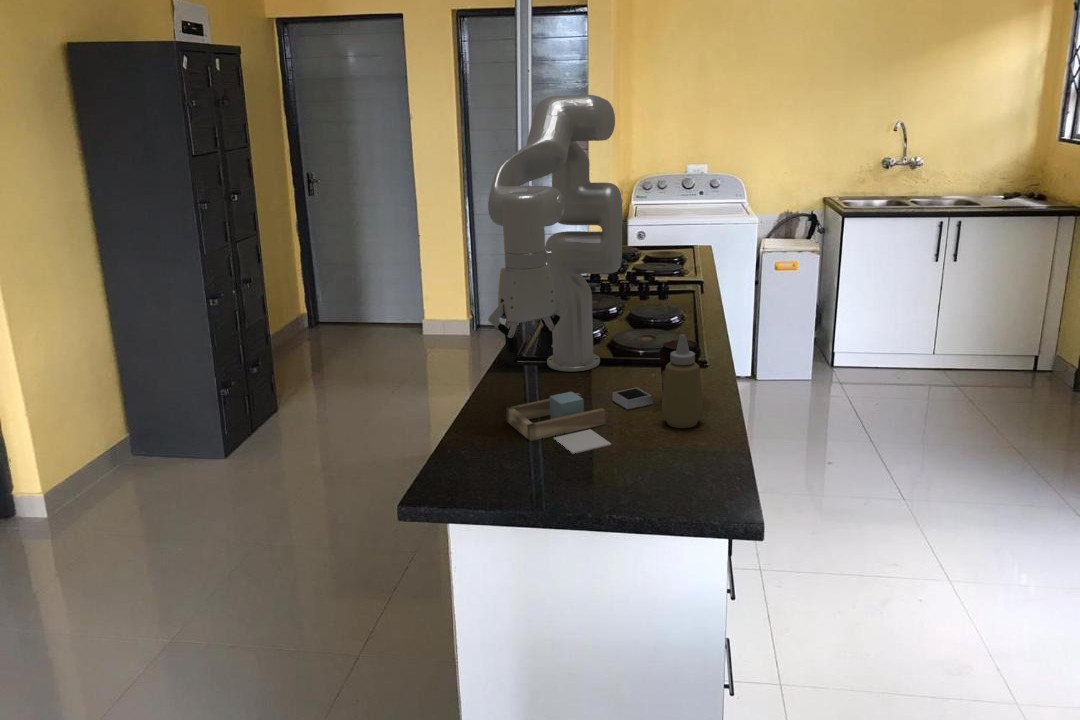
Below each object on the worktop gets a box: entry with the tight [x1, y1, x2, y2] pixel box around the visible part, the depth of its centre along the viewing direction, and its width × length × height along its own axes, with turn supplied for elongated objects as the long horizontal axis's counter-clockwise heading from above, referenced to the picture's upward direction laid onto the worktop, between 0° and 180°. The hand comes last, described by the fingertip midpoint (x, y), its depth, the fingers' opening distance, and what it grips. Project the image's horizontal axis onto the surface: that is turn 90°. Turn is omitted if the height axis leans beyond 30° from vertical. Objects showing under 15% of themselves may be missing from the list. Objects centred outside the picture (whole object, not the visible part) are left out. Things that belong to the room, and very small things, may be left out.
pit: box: [612, 386, 653, 411], centre depth 180 cm, size 6×6×2 cm
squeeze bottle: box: [661, 333, 704, 429], centre depth 166 cm, size 8×8×18 cm
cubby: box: [505, 392, 606, 442], centre depth 171 cm, size 11×16×3 cm
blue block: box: [549, 391, 585, 419], centre depth 172 cm, size 5×5×5 cm
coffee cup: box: [658, 339, 702, 391], centre depth 177 cm, size 9×8×13 cm
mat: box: [553, 428, 612, 455], centre depth 162 cm, size 8×8×1 cm
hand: (529, 352), depth 165 cm, fingers open, 6 cm apart
